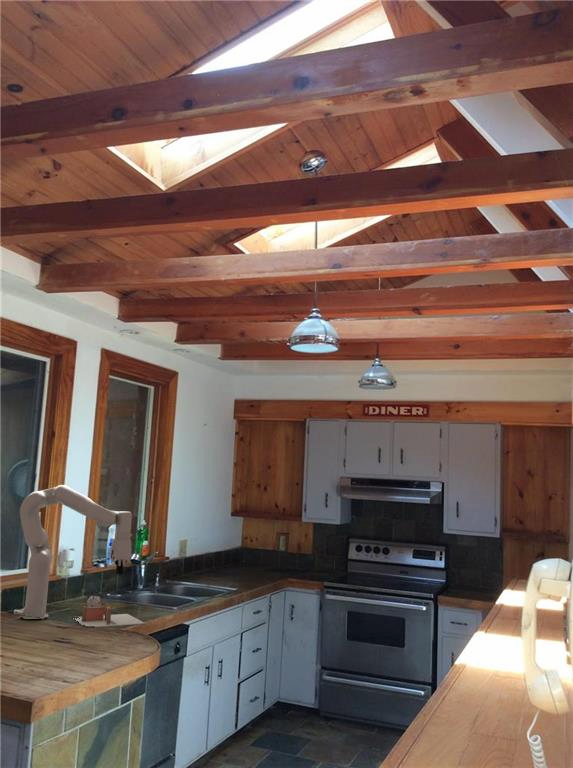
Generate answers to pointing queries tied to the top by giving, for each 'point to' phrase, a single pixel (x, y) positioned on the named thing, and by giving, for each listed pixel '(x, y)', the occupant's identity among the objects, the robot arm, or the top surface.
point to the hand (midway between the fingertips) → (119, 574)
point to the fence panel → (108, 615)
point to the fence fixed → (93, 613)
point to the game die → (94, 601)
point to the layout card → (112, 621)
